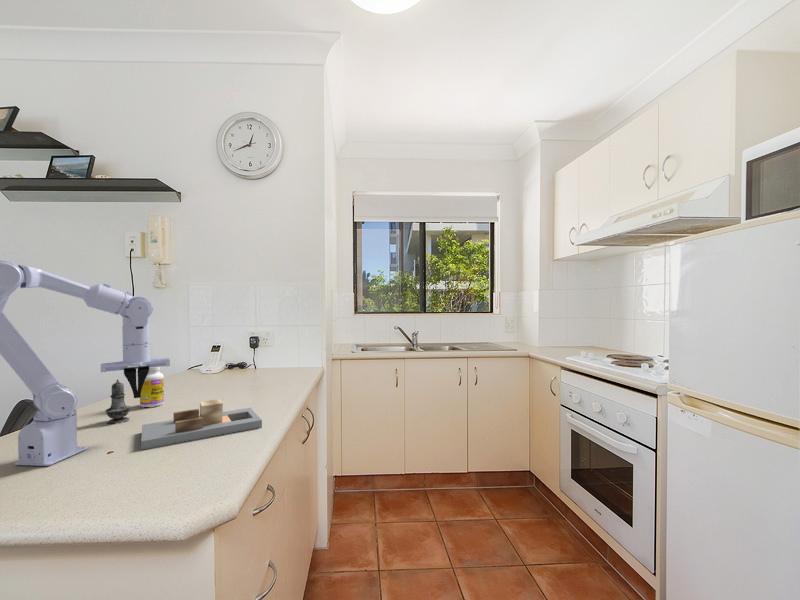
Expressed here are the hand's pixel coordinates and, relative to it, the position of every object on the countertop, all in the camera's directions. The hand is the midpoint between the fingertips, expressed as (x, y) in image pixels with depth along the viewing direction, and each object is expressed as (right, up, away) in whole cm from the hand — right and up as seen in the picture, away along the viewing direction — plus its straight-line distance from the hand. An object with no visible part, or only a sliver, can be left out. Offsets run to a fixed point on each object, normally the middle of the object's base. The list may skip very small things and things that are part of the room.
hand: (137, 397), depth 99 cm
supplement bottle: (-14, -10, +29) cm, 34 cm away
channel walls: (+12, -8, +2) cm, 14 cm away
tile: (+18, -10, +6) cm, 21 cm away
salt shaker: (-14, -10, +12) cm, 21 cm away
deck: (+15, -10, +4) cm, 18 cm away
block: (+16, -8, +5) cm, 19 cm away
